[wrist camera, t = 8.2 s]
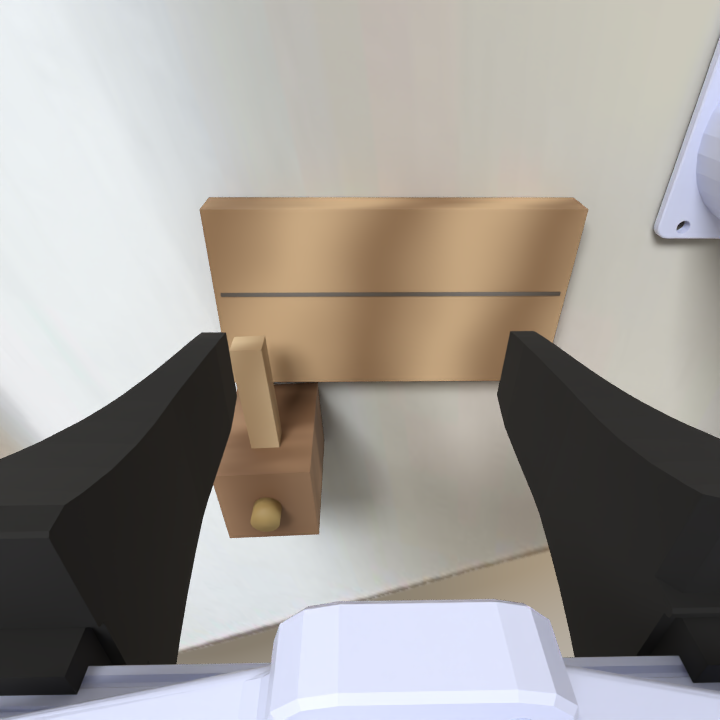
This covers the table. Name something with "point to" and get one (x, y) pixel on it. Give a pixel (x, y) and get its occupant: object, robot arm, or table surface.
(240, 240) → the board
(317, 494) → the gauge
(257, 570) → the table surface
